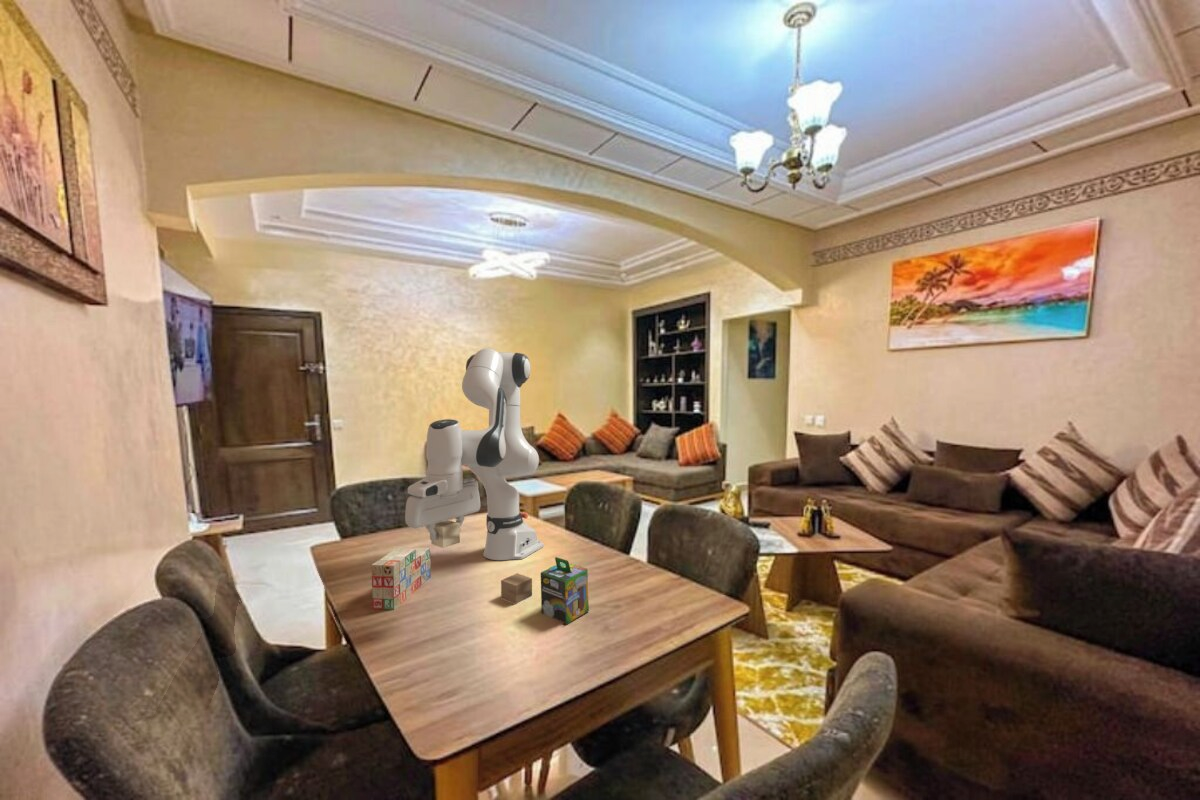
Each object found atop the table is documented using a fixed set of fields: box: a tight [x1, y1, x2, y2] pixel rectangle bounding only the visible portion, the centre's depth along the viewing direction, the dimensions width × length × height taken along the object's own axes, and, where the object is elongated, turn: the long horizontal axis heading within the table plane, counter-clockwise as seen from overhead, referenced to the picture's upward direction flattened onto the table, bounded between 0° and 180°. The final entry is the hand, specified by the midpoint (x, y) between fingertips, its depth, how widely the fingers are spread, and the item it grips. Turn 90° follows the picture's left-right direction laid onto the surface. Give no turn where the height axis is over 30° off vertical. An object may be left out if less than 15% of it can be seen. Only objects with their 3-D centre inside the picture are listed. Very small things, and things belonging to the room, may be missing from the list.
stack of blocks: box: [371, 547, 432, 611], centre depth 132 cm, size 21×6×12 cm, turn 175°
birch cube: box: [430, 519, 461, 549], centre depth 117 cm, size 5×5×5 cm
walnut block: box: [500, 572, 533, 605], centre depth 127 cm, size 6×6×5 cm
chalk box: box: [540, 556, 590, 626], centre depth 119 cm, size 9×9×15 cm
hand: (445, 536), depth 117 cm, fingers closed on birch cube, 5 cm apart
